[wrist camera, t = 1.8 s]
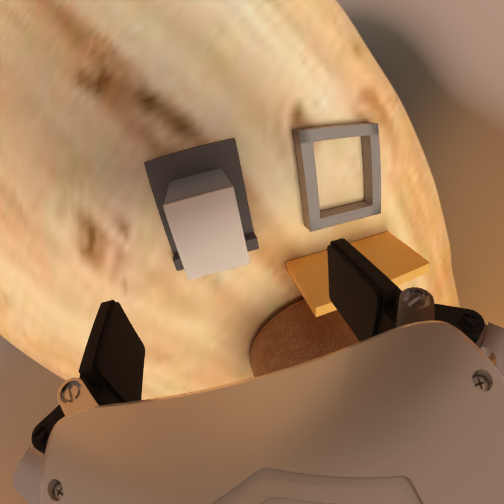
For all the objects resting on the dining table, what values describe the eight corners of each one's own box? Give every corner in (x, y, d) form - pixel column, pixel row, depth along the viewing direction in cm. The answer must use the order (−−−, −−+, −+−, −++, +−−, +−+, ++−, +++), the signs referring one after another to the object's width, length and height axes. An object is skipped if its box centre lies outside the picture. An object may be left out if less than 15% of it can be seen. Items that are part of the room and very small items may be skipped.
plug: (169, 181, 19) (162, 206, 14) (220, 167, 20) (233, 187, 15) (187, 239, 22) (188, 280, 17) (234, 226, 22) (250, 263, 17)
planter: (355, 264, 28) (437, 351, 16) (370, 342, 36) (418, 411, 24) (224, 332, 28) (252, 449, 16) (274, 391, 36) (304, 471, 24)
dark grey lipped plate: (145, 162, 19) (141, 165, 17) (234, 138, 19) (237, 139, 18) (177, 261, 23) (177, 270, 22) (254, 240, 24) (258, 248, 23)
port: (266, 134, 20) (300, 142, 14) (386, 121, 21) (441, 131, 15) (286, 270, 26) (316, 317, 20) (386, 239, 27) (428, 271, 21)
